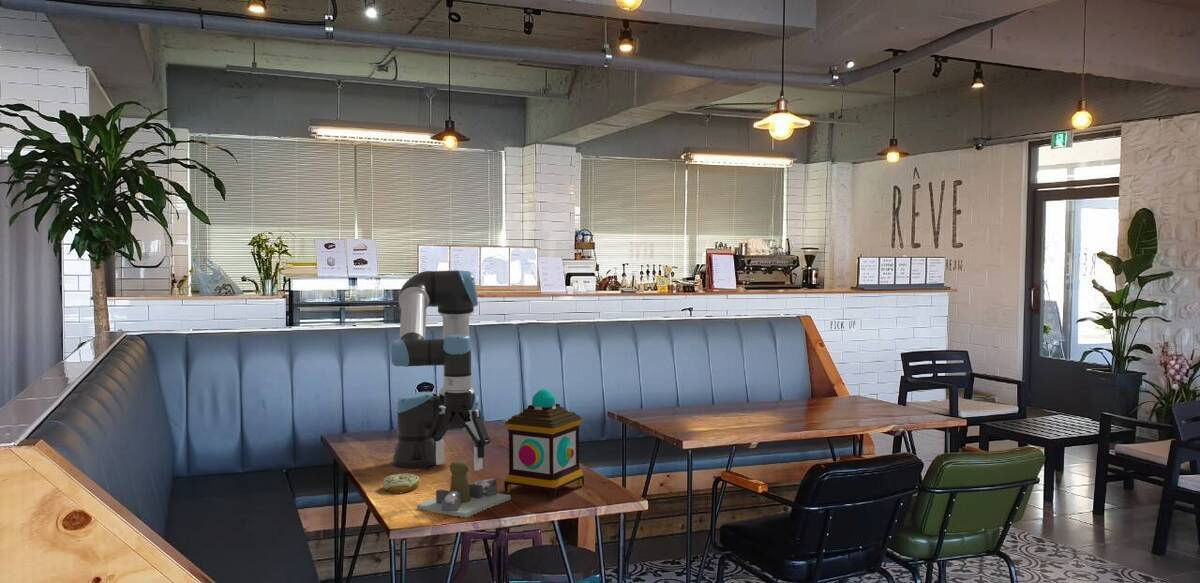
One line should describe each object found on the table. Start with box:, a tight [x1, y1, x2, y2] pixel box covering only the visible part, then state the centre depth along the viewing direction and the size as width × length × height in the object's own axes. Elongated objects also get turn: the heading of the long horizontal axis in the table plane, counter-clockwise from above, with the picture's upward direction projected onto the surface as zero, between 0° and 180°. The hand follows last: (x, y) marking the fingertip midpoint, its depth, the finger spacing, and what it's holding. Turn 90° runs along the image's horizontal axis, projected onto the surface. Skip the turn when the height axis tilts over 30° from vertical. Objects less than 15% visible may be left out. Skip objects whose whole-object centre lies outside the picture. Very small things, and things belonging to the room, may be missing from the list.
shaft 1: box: [441, 491, 461, 511], centre depth 238 cm, size 5×4×4 cm
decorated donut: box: [382, 473, 420, 494], centre depth 263 cm, size 10×11×4 cm
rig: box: [416, 482, 512, 518], centre depth 247 cm, size 17×20×5 cm
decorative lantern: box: [503, 388, 585, 500], centre depth 261 cm, size 20×20×30 cm
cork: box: [449, 459, 471, 503], centre depth 246 cm, size 6×6×11 cm
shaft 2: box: [473, 477, 498, 497], centre depth 252 cm, size 6×4×4 cm
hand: (459, 466), depth 246 cm, fingers open, 13 cm apart
